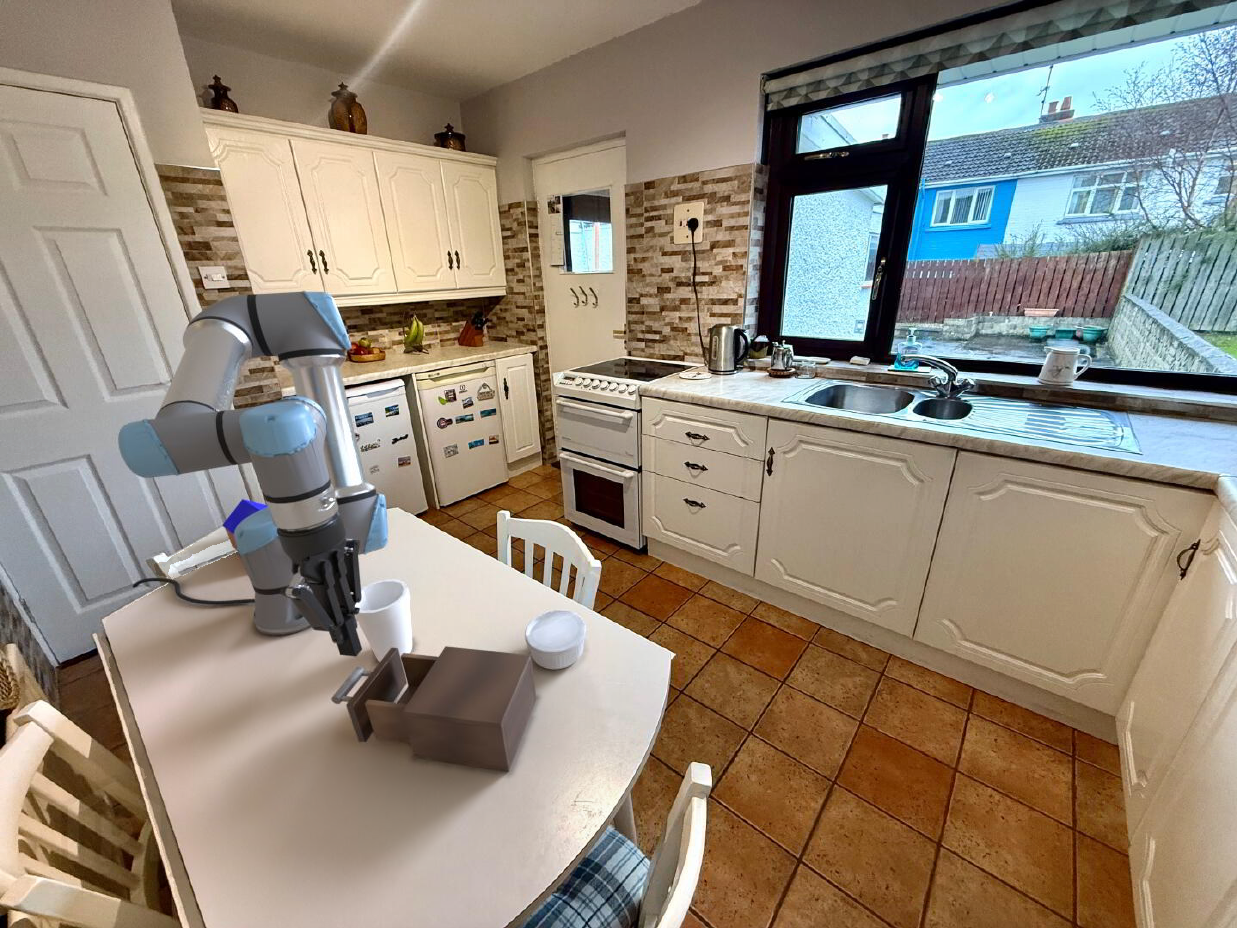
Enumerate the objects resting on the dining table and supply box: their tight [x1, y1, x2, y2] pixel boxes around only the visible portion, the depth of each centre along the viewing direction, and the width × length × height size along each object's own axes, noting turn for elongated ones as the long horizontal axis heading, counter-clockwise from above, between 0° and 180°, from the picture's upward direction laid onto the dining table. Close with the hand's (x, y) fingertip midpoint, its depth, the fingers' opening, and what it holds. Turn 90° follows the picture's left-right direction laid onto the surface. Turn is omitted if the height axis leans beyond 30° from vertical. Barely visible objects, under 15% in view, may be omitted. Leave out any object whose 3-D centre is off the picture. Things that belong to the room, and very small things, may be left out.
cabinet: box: [403, 645, 537, 772], centre depth 74 cm, size 15×13×10 cm
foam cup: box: [355, 578, 413, 663], centre depth 89 cm, size 10×9×13 cm
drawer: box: [330, 648, 439, 744], centre depth 76 cm, size 19×11×8 cm, turn 81°
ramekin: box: [524, 609, 587, 670], centre depth 89 cm, size 11×11×5 cm
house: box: [221, 498, 268, 551], centre depth 124 cm, size 12×20×12 cm, turn 54°
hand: (351, 651), depth 74 cm, fingers closed
